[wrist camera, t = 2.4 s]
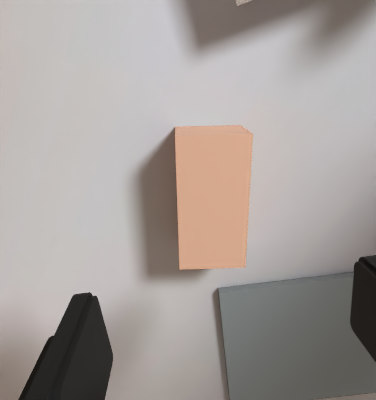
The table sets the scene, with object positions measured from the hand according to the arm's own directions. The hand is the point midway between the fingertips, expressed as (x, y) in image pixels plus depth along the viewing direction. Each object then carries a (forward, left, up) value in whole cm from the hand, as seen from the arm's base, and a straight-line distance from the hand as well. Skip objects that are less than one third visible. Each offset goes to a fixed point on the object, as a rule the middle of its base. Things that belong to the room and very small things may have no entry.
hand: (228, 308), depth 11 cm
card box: (0, 0, -13) cm, 13 cm away
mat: (-10, +16, -13) cm, 23 cm away
